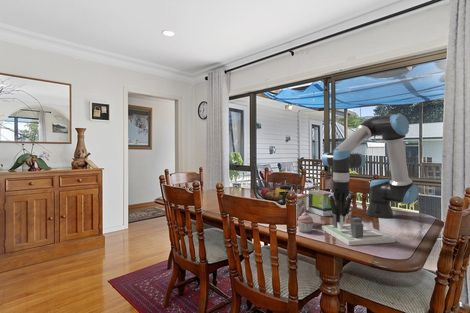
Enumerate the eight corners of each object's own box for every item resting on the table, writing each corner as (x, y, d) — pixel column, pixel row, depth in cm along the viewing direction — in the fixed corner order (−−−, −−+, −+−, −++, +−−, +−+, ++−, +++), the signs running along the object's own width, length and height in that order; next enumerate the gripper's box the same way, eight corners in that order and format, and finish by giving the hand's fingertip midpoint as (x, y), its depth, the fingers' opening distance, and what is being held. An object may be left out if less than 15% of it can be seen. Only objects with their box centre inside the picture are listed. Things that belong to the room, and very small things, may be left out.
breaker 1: (339, 225, 143) (340, 214, 143) (343, 226, 140) (343, 215, 140) (332, 225, 143) (333, 214, 142) (336, 227, 140) (336, 215, 139)
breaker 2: (358, 234, 128) (359, 222, 127) (363, 236, 125) (363, 224, 125) (351, 235, 127) (351, 222, 127) (355, 237, 124) (355, 224, 124)
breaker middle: (357, 229, 136) (357, 217, 136) (361, 231, 134) (361, 219, 133) (350, 229, 136) (350, 217, 136) (354, 231, 133) (354, 219, 133)
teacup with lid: (349, 227, 148) (350, 206, 148) (332, 224, 153) (332, 204, 153) (354, 222, 158) (354, 202, 157) (338, 219, 163) (338, 200, 163)
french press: (279, 207, 196) (280, 176, 195) (292, 208, 193) (293, 176, 192) (276, 211, 185) (276, 177, 184) (290, 212, 182) (290, 178, 181)
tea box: (335, 215, 174) (335, 192, 173) (322, 217, 170) (323, 193, 169) (319, 210, 188) (319, 189, 187) (307, 211, 184) (308, 190, 183)
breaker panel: (361, 226, 149) (361, 223, 149) (395, 242, 125) (395, 237, 125) (321, 229, 144) (321, 225, 144) (348, 245, 121) (348, 240, 121)
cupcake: (309, 235, 135) (309, 215, 134) (292, 231, 141) (292, 212, 141) (317, 230, 142) (317, 212, 141) (301, 227, 148) (301, 209, 148)
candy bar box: (296, 226, 150) (296, 197, 149) (288, 224, 153) (288, 195, 153) (306, 222, 158) (307, 194, 157) (299, 220, 161) (299, 193, 161)
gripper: (348, 179, 137) (347, 225, 138) (324, 180, 135) (324, 227, 135) (357, 181, 130) (356, 230, 130) (332, 182, 127) (332, 231, 128)
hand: (340, 228), depth 133 cm, fingers closed
